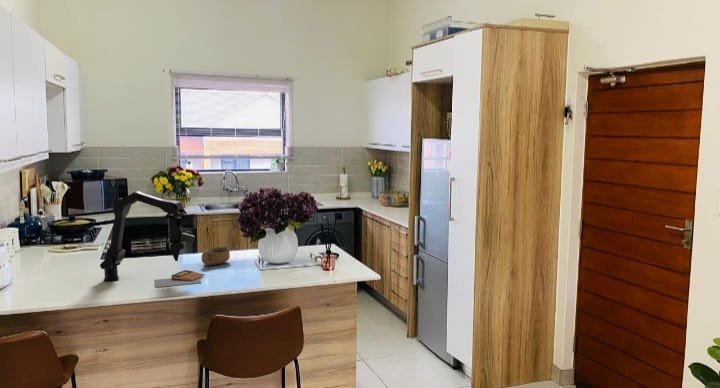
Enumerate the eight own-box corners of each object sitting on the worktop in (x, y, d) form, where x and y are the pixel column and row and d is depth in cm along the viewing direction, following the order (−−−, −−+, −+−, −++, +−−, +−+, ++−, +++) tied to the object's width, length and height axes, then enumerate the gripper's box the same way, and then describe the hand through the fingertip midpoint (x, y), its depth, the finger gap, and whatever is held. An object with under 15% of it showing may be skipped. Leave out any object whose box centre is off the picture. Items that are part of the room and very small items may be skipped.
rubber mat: (154, 280, 261) (154, 279, 261) (198, 276, 269) (198, 275, 269) (155, 287, 248) (155, 287, 248) (201, 283, 256) (201, 282, 256)
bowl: (223, 266, 283) (217, 247, 282) (199, 272, 286) (193, 254, 285) (236, 258, 300) (231, 240, 300) (213, 264, 303) (208, 247, 302)
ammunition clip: (171, 279, 261) (192, 282, 258) (171, 275, 261) (192, 278, 258) (185, 273, 272) (206, 276, 268) (184, 270, 271) (206, 272, 268)
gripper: (194, 230, 252) (196, 263, 254) (191, 224, 269) (192, 255, 271) (169, 231, 248) (170, 265, 250) (167, 225, 265) (168, 257, 267)
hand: (176, 260), depth 259 cm, fingers closed
